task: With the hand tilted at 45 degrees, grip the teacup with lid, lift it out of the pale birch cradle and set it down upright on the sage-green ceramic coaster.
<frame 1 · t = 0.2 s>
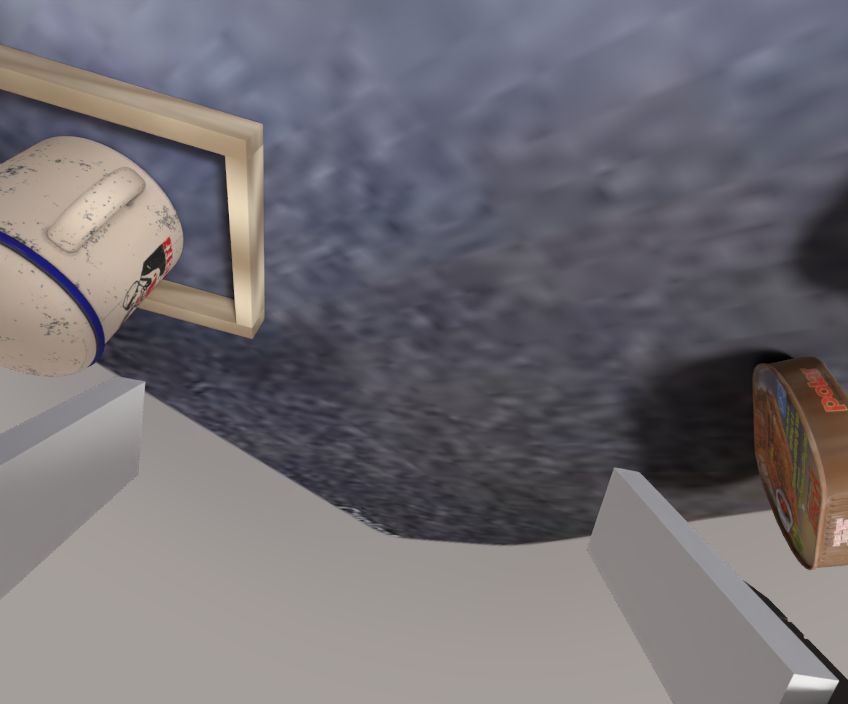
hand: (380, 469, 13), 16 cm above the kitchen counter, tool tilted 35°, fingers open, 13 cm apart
teacup with lid: (126, 195, 27), resting in wooden cradle
wooden cradle: (123, 197, 27), on the kitchen counter
tin: (779, 408, 31), on the kitchen counter
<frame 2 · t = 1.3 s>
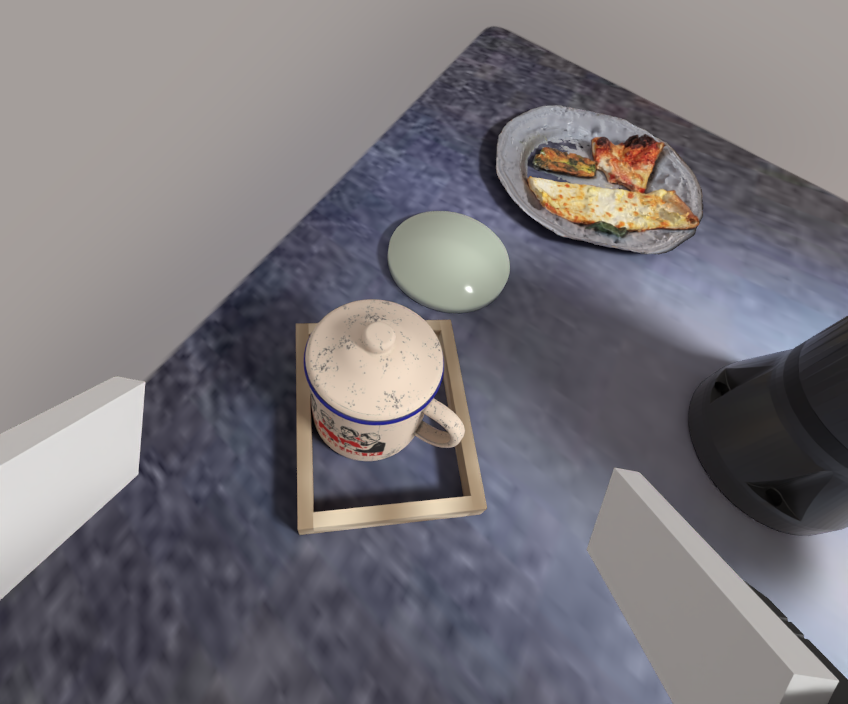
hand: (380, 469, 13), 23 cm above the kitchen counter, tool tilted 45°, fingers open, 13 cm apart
teacup with lid: (382, 420, 39), resting in wooden cradle
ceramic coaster: (448, 262, 48), on the kitchen counter
food plate: (592, 187, 58), on the kitchen counter
wooden cradle: (382, 419, 38), on the kitchen counter
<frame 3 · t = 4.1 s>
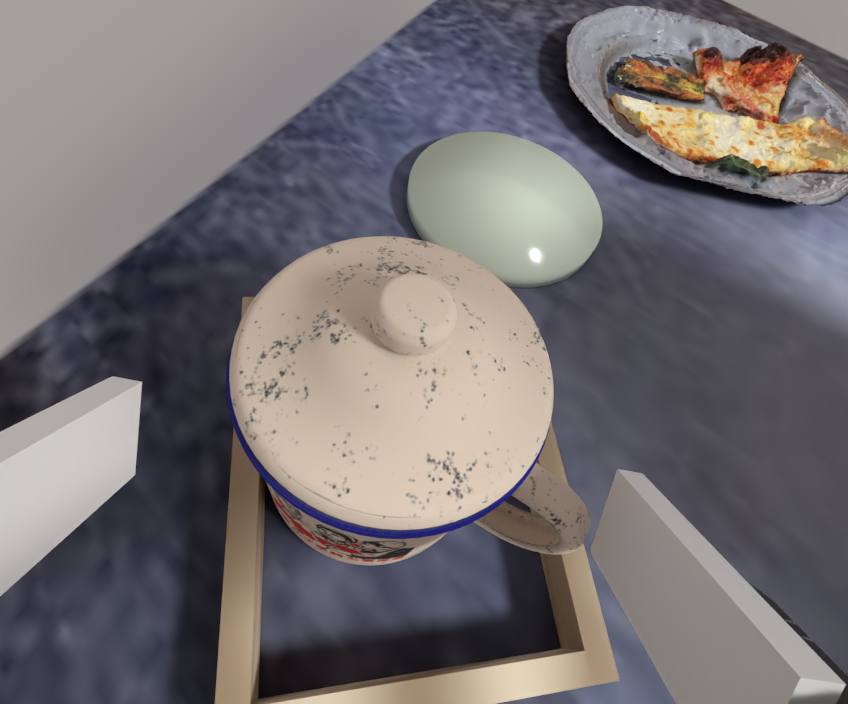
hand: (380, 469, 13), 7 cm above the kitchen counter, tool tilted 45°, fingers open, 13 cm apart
teacup with lid: (399, 478, 21), resting in wooden cradle, touching gripper
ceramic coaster: (502, 209, 30), on the kitchen counter
food plate: (699, 116, 40), on the kitchen counter
wooden cradle: (400, 477, 21), on the kitchen counter
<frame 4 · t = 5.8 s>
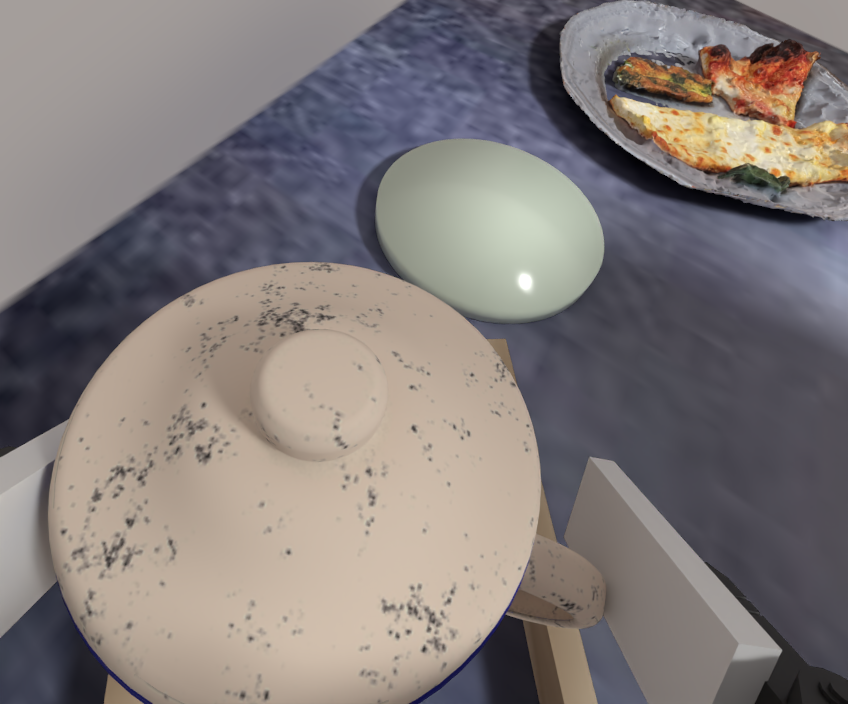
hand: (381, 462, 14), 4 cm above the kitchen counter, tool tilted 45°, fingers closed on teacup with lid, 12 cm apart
teacup with lid: (357, 548, 17), resting in wooden cradle, touching gripper
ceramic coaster: (487, 229, 26), on the kitchen counter
food plate: (707, 121, 36), on the kitchen counter
wooden cradle: (356, 578, 16), on the kitchen counter
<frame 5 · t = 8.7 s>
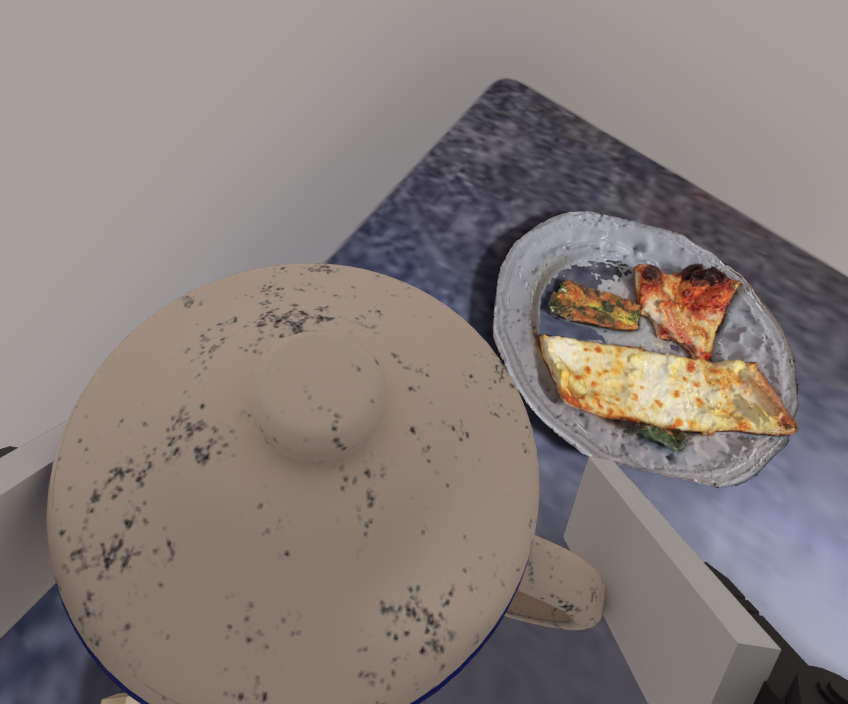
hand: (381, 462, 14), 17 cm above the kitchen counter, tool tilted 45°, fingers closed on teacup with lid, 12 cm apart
teacup with lid: (356, 549, 17), point 12 cm above the kitchen counter, touching gripper
food plate: (633, 343, 40), on the kitchen counter
when the fingers open (7 cm above the kitchen counter, at t = 11.8 s): teacup with lid drops 1 cm, resting on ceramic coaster.
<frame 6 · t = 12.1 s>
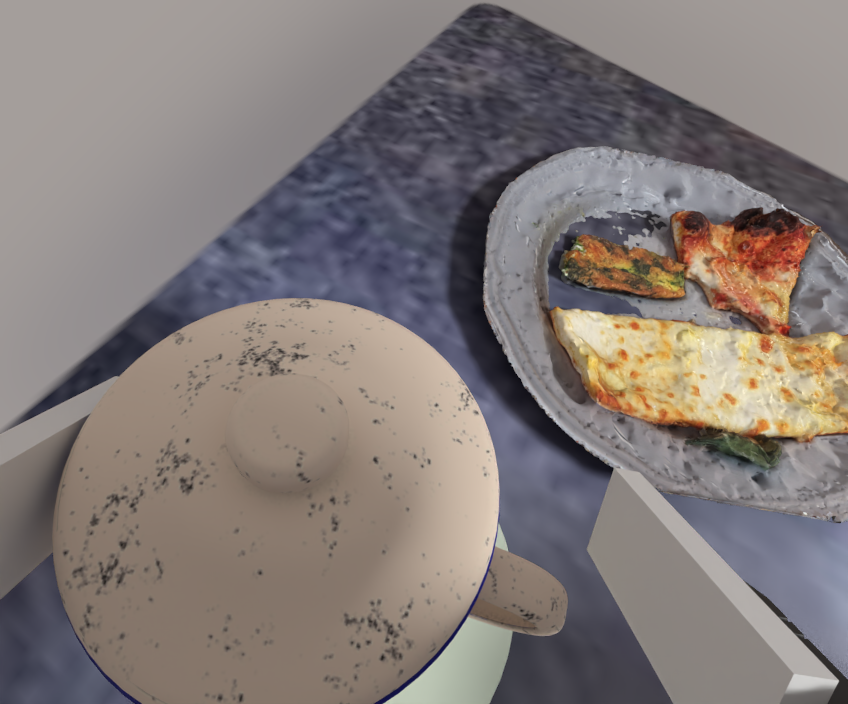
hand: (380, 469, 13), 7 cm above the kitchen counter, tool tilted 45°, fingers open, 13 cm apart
teacup with lid: (346, 556, 18), point 1 cm above the kitchen counter, touching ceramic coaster
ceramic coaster: (352, 584, 18), on the kitchen counter
food plate: (679, 317, 29), on the kitchen counter
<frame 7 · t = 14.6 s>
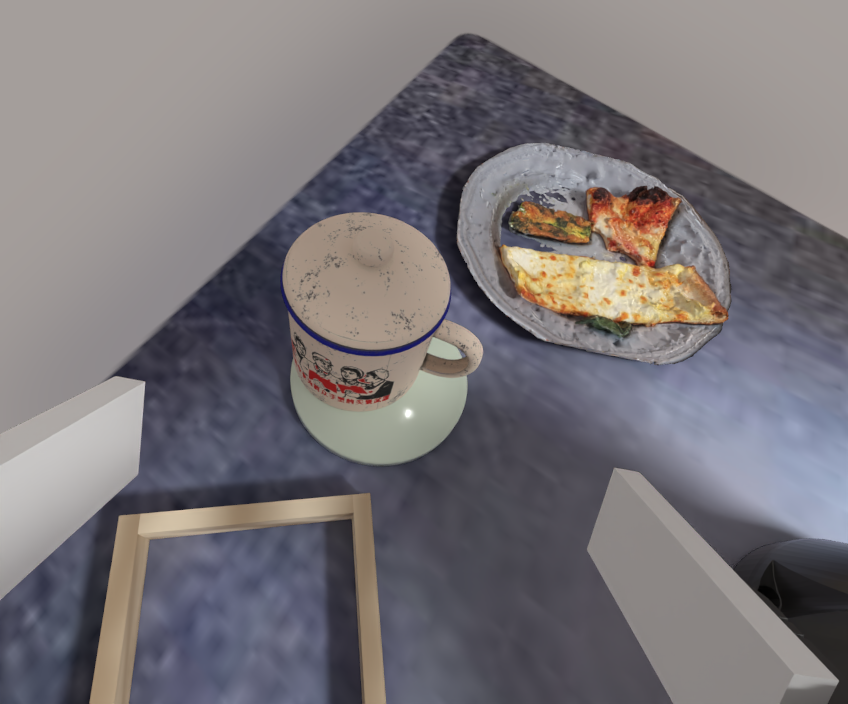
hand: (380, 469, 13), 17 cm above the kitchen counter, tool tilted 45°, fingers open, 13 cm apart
teacup with lid: (377, 364, 33), point 1 cm above the kitchen counter, touching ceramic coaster
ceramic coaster: (380, 381, 34), on the kitchen counter
food plate: (586, 256, 44), on the kitchen counter
wooden cradle: (250, 673, 24), on the kitchen counter
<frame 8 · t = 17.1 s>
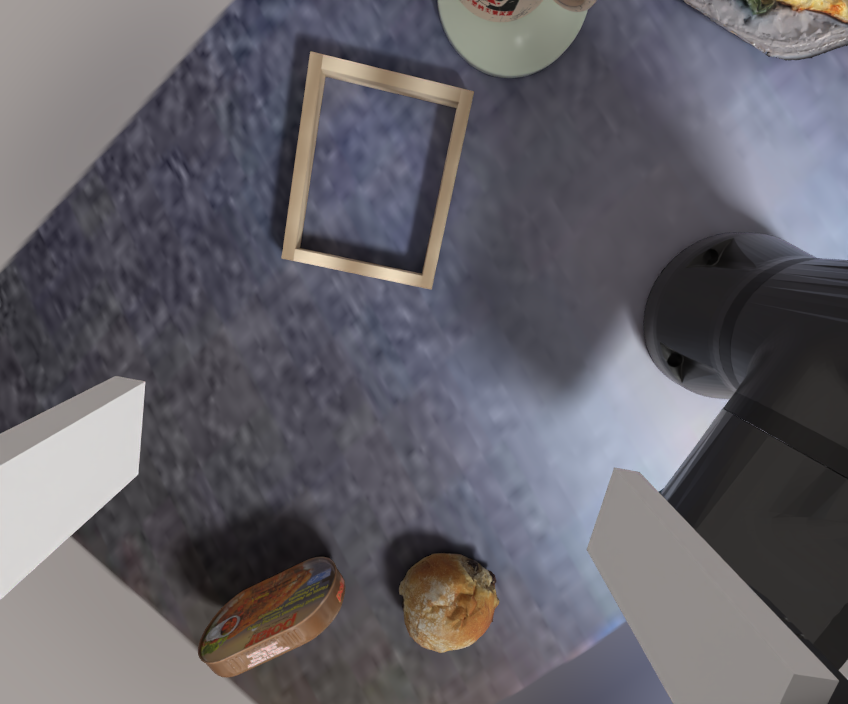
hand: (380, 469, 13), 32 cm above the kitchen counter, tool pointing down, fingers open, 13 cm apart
wooden cradle: (376, 180, 41), on the kitchen counter
bread roll: (447, 585, 52), on the kitchen counter
tin: (285, 583, 51), on the kitchen counter
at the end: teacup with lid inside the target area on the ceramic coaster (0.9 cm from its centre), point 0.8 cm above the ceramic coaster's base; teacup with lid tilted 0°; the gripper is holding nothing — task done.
